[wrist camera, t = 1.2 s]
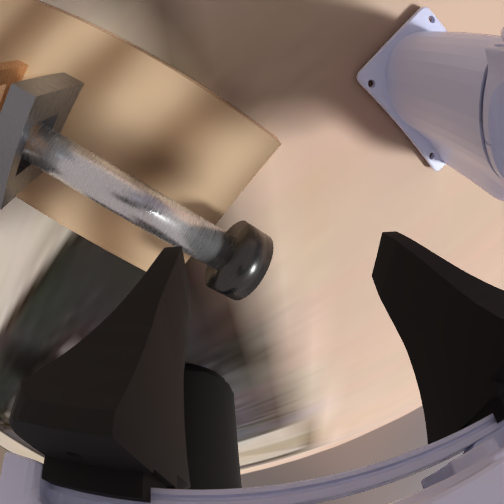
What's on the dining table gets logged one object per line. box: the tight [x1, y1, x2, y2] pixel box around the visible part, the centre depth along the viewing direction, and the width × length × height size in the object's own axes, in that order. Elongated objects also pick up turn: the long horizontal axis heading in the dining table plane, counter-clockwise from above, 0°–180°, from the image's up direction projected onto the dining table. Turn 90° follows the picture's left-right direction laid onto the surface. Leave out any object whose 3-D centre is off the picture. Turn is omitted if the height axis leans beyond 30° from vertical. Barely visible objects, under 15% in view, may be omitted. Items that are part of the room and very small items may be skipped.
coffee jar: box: [183, 364, 242, 490], centre depth 24 cm, size 11×11×18 cm
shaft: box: [21, 122, 273, 300], centre depth 14 cm, size 16×4×4 cm, turn 52°
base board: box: [0, 0, 281, 271], centre depth 15 cm, size 22×12×2 cm, turn 52°
